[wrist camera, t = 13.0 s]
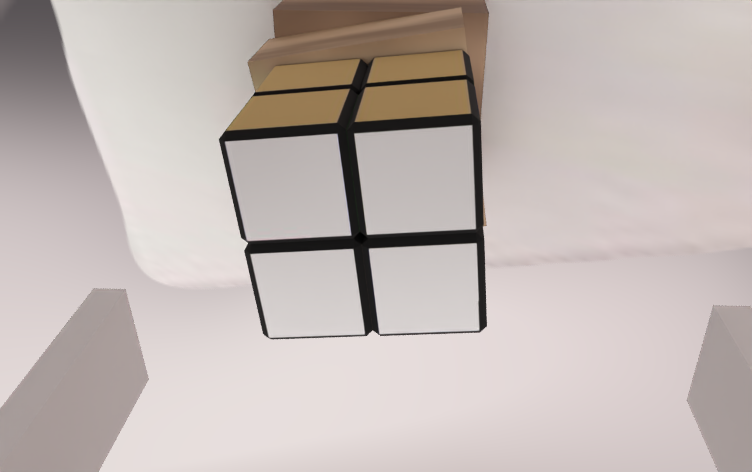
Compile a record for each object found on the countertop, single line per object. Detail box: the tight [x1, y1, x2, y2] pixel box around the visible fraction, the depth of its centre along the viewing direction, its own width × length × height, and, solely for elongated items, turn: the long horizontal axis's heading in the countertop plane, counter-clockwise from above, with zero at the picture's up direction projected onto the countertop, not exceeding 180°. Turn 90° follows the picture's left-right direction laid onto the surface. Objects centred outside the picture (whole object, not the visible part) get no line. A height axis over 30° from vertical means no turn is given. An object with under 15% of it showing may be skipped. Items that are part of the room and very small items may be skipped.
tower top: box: [248, 7, 486, 226], centre depth 38 cm, size 11×11×5 cm
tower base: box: [273, 0, 489, 119], centre depth 42 cm, size 12×12×5 cm
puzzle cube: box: [219, 50, 487, 339], centre depth 32 cm, size 10×10×10 cm
